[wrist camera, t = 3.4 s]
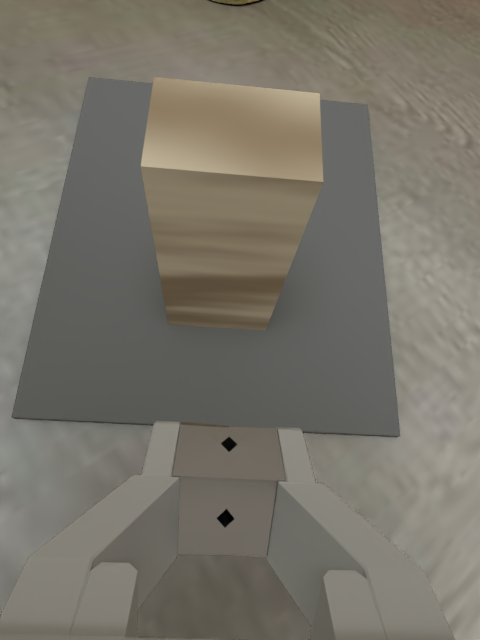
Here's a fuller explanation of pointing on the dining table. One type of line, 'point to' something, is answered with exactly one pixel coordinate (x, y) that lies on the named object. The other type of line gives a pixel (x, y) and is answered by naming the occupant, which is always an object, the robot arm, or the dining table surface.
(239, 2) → the ceramic model
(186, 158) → the birch block
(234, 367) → the rubber mat
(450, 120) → the dining table surface
